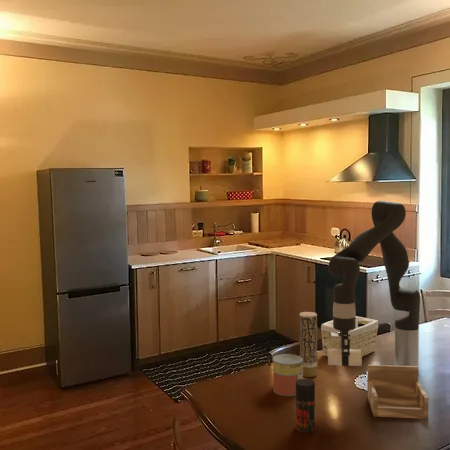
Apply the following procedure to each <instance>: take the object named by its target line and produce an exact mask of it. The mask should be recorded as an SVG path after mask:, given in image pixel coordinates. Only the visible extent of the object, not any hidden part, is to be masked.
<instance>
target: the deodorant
mask: <svg viewBox="0 0 450 450" xmlns="http://www.w3.org/2000/svg"><path fill="white" fill-rule="evenodd" d="M295 426H296V427H295V429H296V430H297V431H298V432H300V433H303V434H304V433H305V434H309V433H313V432H314V431H316V382H315V381H314V380H313V379H309V378H303V379H299V380H297V381H296V396H295Z"/></svg>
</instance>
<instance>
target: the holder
mask: <svg viewBox="0 0 450 450" xmlns="http://www.w3.org/2000/svg"><path fill="white" fill-rule="evenodd" d="M429 398H430V397H429V396H428V395H427V393H426V391H425V390H424V388H423V386H422V384H421V383H420V381H419V365H418V366H396V365H395V364H394V365H393V364H392V365H391V364H390V365H389V364H388V365H387V364H367V400H368V403H369V405H370V409H371V413H372V415H373V418H374V417H375V418H376V417H377V418H378V417H379V418H402V419H425V420H427V419H429V401H430V400H429Z"/></svg>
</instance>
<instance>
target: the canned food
mask: <svg viewBox="0 0 450 450" xmlns="http://www.w3.org/2000/svg"><path fill="white" fill-rule="evenodd" d="M272 377H273V378H272V383H273V384H272V385H273V389H272V391H273V392H274V394H277V395H279V396H283V397H296V381H297V380H299V379H304V376H303V358H302V357H301V356H300V355H298V354H293V353H280V354H277V355H275V356H273V357H272Z"/></svg>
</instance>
